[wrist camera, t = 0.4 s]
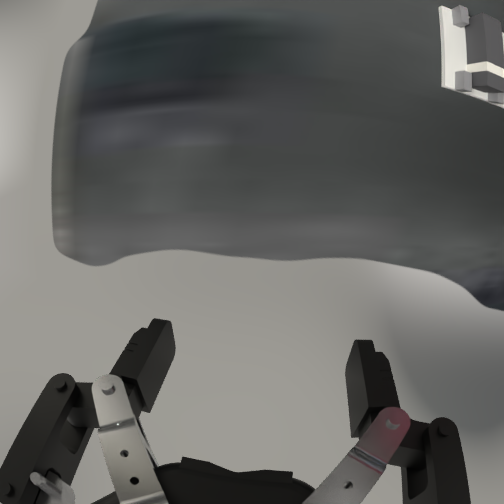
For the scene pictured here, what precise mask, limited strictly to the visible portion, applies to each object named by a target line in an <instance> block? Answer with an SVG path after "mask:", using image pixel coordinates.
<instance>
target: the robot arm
mask: <svg viewBox="0 0 504 504" xmlns="http://www.w3.org/2000/svg"><path fill="white" fill-rule="evenodd" d="M174 355H175V341H174V335H173V329H172V324H171V322H170V321H168V320H161V319H155V318H154V319H153V320H152V321H151V323H150V325H149V327H148V328H141V329H140V330H138V331H137V332H136V333H134V334H133V336H132V338H131V339H130V341H129V343H128V344H127V346H126V347H125V350H124V351H123V352H122V354H121V355H120V357H119V359H118V360H117V362H116V364H115V365H114V367H113V369H112V370H111V372H110V373H109V374H108V375H103V376H101V377H99V378H97V380H95V382H94V383H79V382H75V380H74V378H73V377H72V376H71V375H69V374H65V373H61V374H57V375H55V376H53V377H52V378H51V379H50V380H49V382H48V383H47V385H46V387H45V388H44V390H43V391H42V393H41V395H40V396H39V398H38V400H37V401H36V403H35V405H34V407H33V408H32V410H31V412H30V413H29V415H28V417H27V419H26V420H25V422H24V424H23V426H22V428H21V429H20V431H19V433H18V435H17V437H16V439H15V441H14V443H13V445H12V446H11V448H10V450H9V452H8V454H7V456H6V458H5V460H4V462H3V464H2V466H1V468H0V502H1V503H2V504H75V494H74V492H73V490H72V488H71V487H70V485H71V483H72V480H73V478H74V475H75V473H76V470H77V468H78V465H79V463H80V460H81V458H82V455H83V453H84V451H85V448H86V446H87V444H88V441H89V439H90V437H91V434H92V432H93V430H94V428H100V429H98V435H99V439H100V443H101V447H102V450H103V453H104V457H105V460H106V464H107V466H108V470H109V473H110V476H111V479H112V482H113V485H114V488H115V492H113V493H111V494H109V495H107V496H105V497H103V498H101V499H100V500H97V501H95V502H94V503H92V504H360V503H361V502H362V501H363V499H364V498H365V497H366V495H367V494H368V493H369V492H370V490H371V489H372V487H373V486H374V485H375V483H376V482H377V480H378V479H379V478H380V476H381V475H382V474H383V472H384V470H385V468H386V465H387V464H390V465H395V466H400V467H401V474H402V492H403V504H471V501H470V493H469V486H468V480H467V473H466V467H465V462H464V456H463V452H462V447H461V442H460V437H459V433H458V429H457V426H456V425H455V423H454V422H452V421H451V420H450V419H448V418H444V417H441V418H436V419H435V420H433V421H432V422H431V423H430V424H429V423H423V422H419V421H415V420H412V419H410V418H409V416H408V414H407V413H406V412H405V411H404V410H402V409H401V408H400V404H399V400H398V395H397V391H396V387H395V383H394V380H393V375H392V372H391V367H390V363H389V360H388V359H387V358H386V356H385V355H384V354H383V352H375V348H374V344H373V341H372V340H355V341H354V343H353V346H352V349H351V352H350V355H349V358H348V361H347V364H346V372H345V376H346V386H347V394H348V395H347V396H348V406H349V417H350V429H351V437H352V438H353V437H354V438H355V437H359V441H358V442H357V444H356V445H355V446H354V447H353V448H352V449H351V450H350V451H349V452H348V454H347V455H346V456H345V458H344V459H343V460H342V461H341V462H340V463H339V464H338V466H337V467H336V468H335V469H334V470H333V471H332V472H331V474H330V475H329V476H328V477H327V478H326V479H325V480H324V481H323V482H322V483H321V484H320V486H319V487H318V488H317V489H316V490H315V489H314V488H313V487H312V486H310V485H308V484H307V483H305V482H303V481H301V480H298V479H295V478H292V475H293V472H289V471H274V470H259V471H249V472H233V471H230V470H227V469H225V468H222V467H220V466H217V465H215V464H213V463H210V462H206V461H201V460H196V459H192V458H187V457H182V460H181V463H169V464H165V465H162V466H159V465H158V463H157V461H156V458H155V456H154V454H153V452H152V450H151V448H150V445H149V443H148V440H147V438H146V435H145V433H144V430H143V427H142V425H141V422H140V420H139V416H140V413H141V411H144V412H148V413H150V411H151V409H152V406H153V405H154V402H155V400H156V397H157V395H158V393H159V391H160V388H161V386H162V384H163V381H164V379H165V377H166V375H167V372H168V370H169V368H170V365H171V363H172V361H173V358H174Z"/></svg>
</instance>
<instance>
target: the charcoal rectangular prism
mask: <svg viewBox="0 0 504 504" xmlns="http://www.w3.org/2000/svg"><path fill="white" fill-rule="evenodd" d="M465 36H466V52H467V65H466V66H467V72H470V73H472V88H473V89H476V90H478V91H481V92H484V93H504V49H503V38H502V29H501V21H499V20H497V19H495V18H493V17H491V16H489V15H487V14H485V13H483V12H482V13H480V14H478V15H475V16H473V17H470V18H469V25H466V26H465Z"/></svg>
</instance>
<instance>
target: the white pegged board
mask: <svg viewBox="0 0 504 504" xmlns="http://www.w3.org/2000/svg"><path fill="white" fill-rule="evenodd" d="M439 18H440V31H441V52H442V87H443V88H447V89H450V90H453V91H457V92H460V93H463V94H466V95H469V96H472V97H474V98H477V99H480V100H483V101H486V102H488V103H491V104H493V105H496V106H498V107H501V108H503V109H504V93H484V92H481V91H478V90H476V89H473V88H472V73H470V72H467V66H466V65H467V52H466V36H465V26H466V25H469V18H470V17H469V16H468V8H466V7H463V6H461V5H459V6H457V7H455V8H453V9H449V8H446V7H444V6H440V7H439ZM502 38H503V49H504V33H503V32H502Z"/></svg>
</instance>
